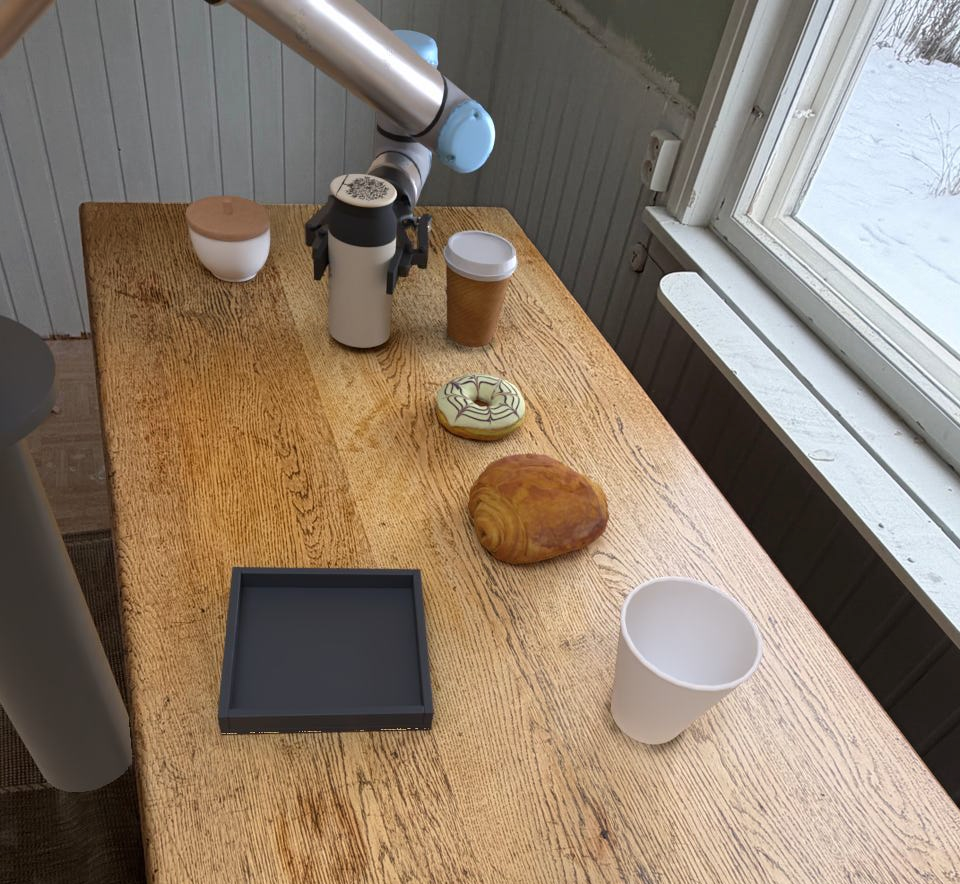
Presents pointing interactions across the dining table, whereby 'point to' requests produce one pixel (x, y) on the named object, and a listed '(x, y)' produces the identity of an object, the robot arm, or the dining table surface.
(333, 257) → the travel mug
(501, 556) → the croissant
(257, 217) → the trinket box
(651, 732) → the cup
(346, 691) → the serving tray
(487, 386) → the decorated donut
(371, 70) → the robot arm
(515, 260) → the disposable coffee cup
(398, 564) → the dining table surface
